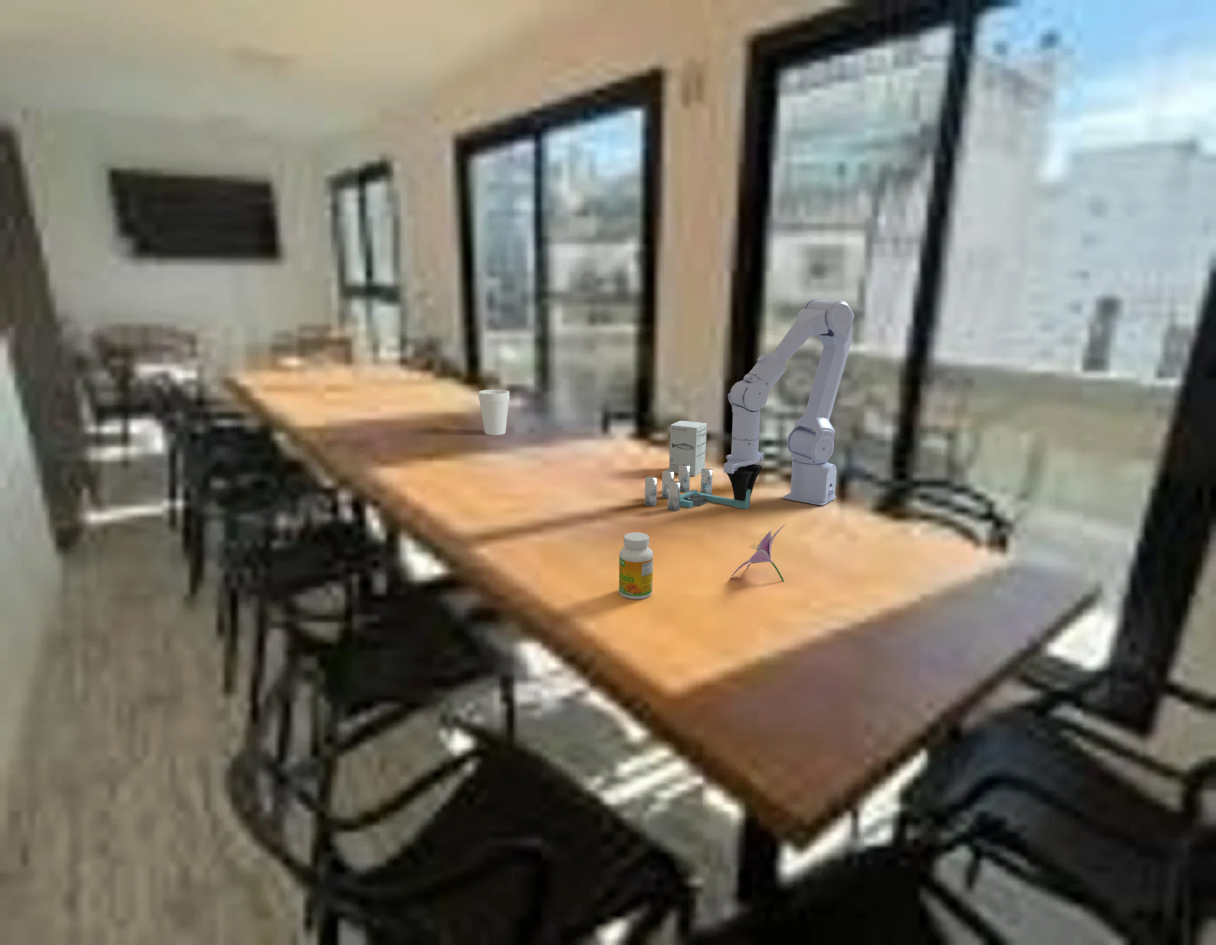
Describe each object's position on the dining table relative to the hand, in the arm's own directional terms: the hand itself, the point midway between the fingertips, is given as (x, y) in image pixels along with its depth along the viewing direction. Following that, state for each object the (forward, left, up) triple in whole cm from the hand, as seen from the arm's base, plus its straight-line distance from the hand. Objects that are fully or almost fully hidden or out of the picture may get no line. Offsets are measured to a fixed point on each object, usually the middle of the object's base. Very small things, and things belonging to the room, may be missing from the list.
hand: (742, 498), depth 175 cm
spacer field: (+14, +4, -2) cm, 15 cm away
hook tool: (+6, +3, -2) cm, 7 cm away
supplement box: (+26, -19, -2) cm, 32 cm away
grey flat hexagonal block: (+10, +4, -2) cm, 10 cm away
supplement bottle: (-8, +53, -2) cm, 54 cm away
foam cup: (+99, -24, -2) cm, 101 cm away
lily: (-21, +34, -2) cm, 40 cm away
